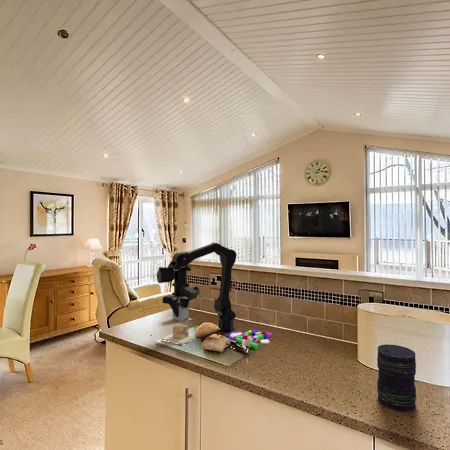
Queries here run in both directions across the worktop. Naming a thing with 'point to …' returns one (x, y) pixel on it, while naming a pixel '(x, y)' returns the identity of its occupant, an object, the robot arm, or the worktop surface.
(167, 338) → the plate
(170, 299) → the robot arm
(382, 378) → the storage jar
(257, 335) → the building block set
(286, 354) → the worktop surface
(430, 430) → the worktop surface
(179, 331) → the oak block
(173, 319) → the condiment
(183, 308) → the slate block
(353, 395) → the worktop surface
